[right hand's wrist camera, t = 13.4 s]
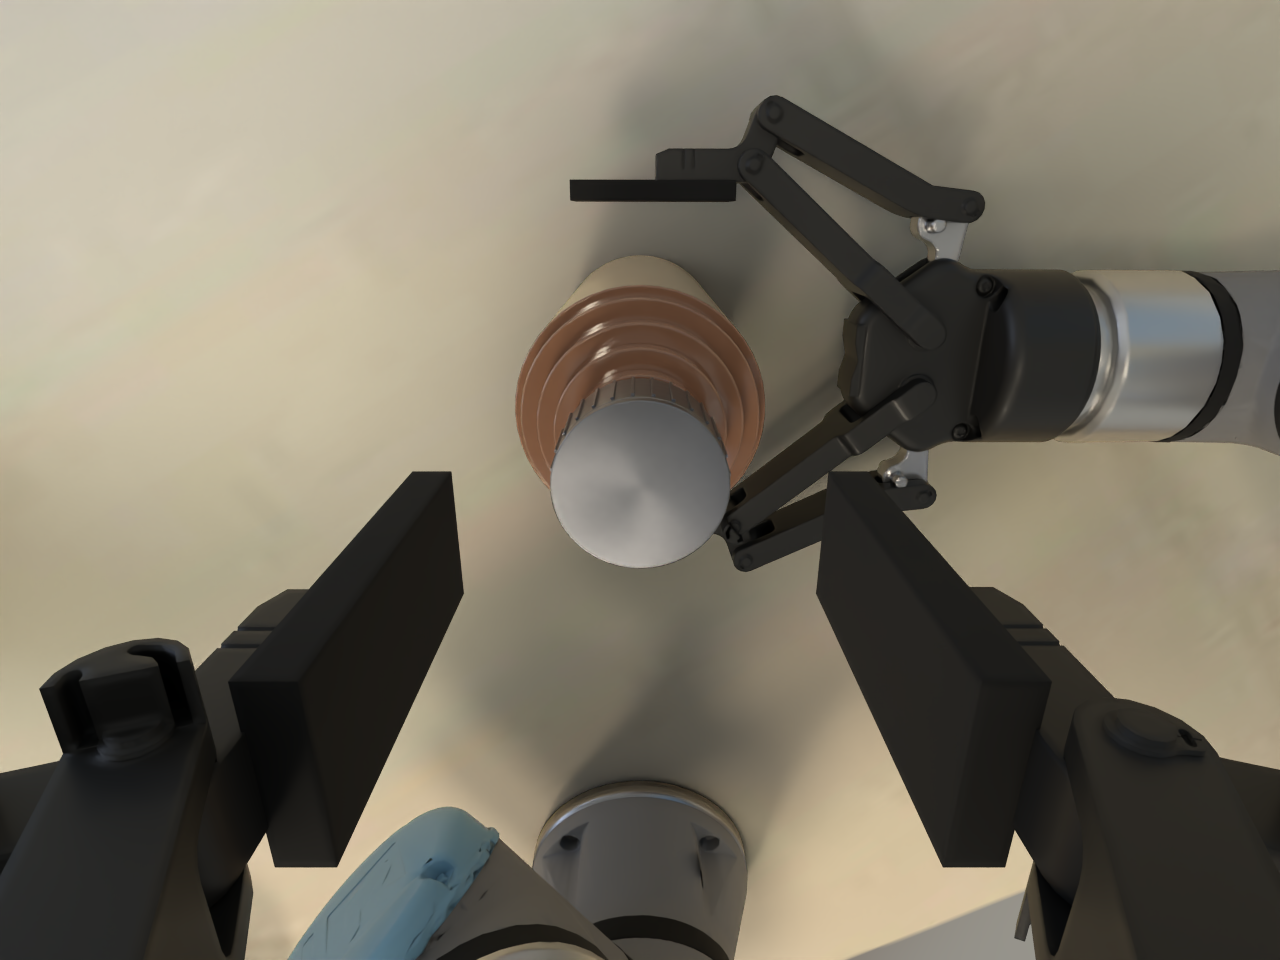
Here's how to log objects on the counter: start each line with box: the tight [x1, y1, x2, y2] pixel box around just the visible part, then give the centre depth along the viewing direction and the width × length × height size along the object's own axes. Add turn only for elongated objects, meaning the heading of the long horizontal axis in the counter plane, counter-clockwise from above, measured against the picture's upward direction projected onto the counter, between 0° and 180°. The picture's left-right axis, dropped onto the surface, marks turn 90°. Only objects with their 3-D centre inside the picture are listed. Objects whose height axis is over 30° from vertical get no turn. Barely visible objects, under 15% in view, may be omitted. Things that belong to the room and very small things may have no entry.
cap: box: [550, 377, 731, 568], centre depth 17 cm, size 4×4×2 cm
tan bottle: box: [515, 255, 765, 490], centre depth 27 cm, size 8×8×22 cm
